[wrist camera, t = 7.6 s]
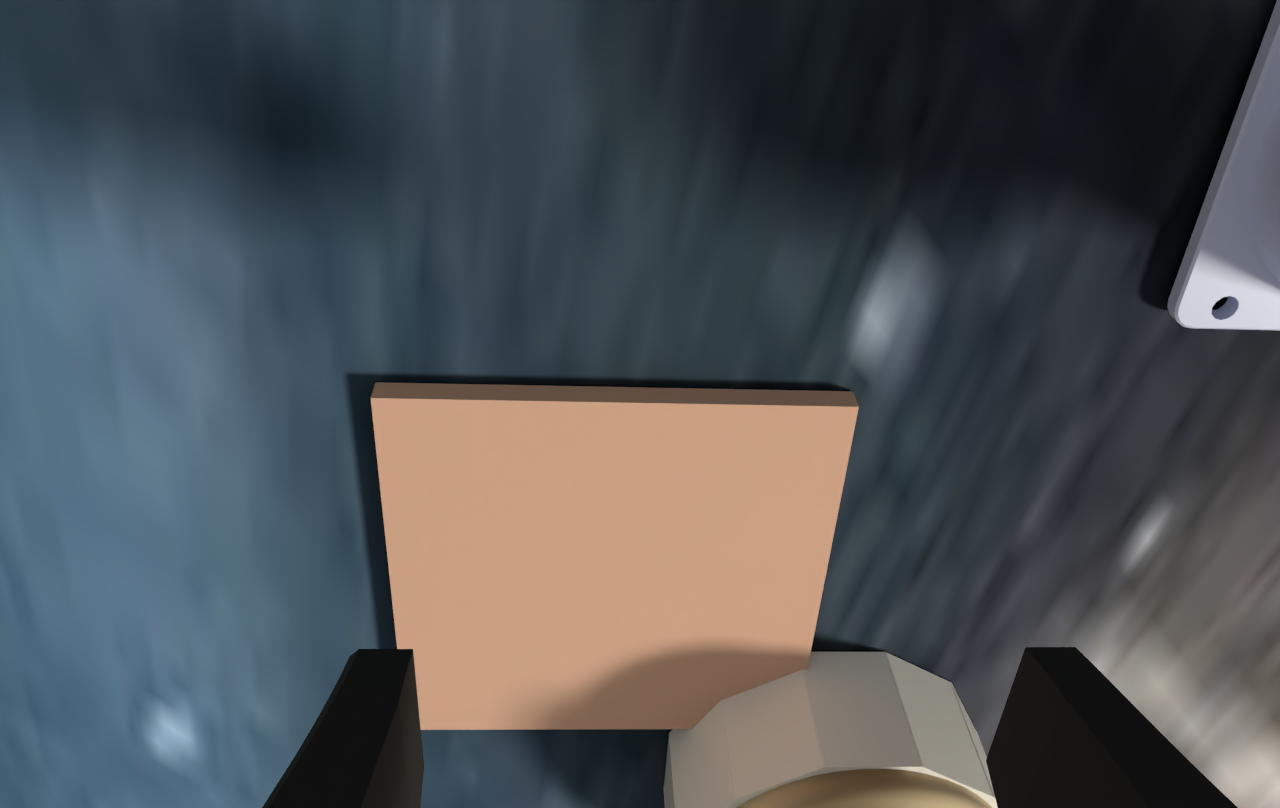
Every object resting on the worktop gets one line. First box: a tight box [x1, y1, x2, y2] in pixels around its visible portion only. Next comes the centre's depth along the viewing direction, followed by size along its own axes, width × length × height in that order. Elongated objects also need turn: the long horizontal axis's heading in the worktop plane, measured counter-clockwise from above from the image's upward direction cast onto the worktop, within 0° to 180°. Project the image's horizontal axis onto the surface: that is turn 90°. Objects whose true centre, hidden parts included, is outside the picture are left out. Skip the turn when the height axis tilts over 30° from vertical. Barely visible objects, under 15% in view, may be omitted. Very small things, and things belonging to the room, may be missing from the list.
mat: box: [371, 382, 859, 730], centre depth 24 cm, size 10×10×1 cm
